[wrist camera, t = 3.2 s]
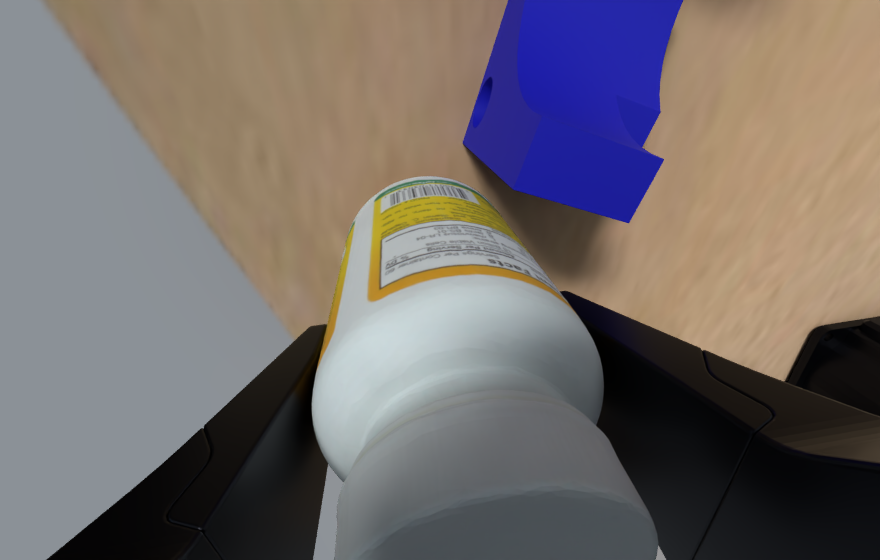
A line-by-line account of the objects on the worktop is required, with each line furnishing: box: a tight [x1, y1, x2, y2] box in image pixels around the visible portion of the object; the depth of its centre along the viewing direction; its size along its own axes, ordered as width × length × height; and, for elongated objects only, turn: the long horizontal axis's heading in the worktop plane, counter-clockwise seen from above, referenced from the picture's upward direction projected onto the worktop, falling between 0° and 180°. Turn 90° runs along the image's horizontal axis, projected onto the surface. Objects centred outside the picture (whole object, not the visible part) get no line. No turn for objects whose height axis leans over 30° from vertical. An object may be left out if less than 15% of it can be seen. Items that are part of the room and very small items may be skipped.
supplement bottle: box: [312, 176, 659, 560], centre depth 9 cm, size 5×5×10 cm
